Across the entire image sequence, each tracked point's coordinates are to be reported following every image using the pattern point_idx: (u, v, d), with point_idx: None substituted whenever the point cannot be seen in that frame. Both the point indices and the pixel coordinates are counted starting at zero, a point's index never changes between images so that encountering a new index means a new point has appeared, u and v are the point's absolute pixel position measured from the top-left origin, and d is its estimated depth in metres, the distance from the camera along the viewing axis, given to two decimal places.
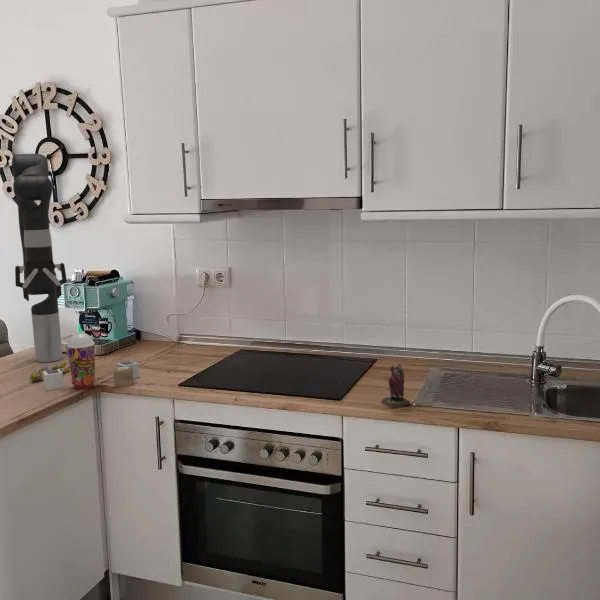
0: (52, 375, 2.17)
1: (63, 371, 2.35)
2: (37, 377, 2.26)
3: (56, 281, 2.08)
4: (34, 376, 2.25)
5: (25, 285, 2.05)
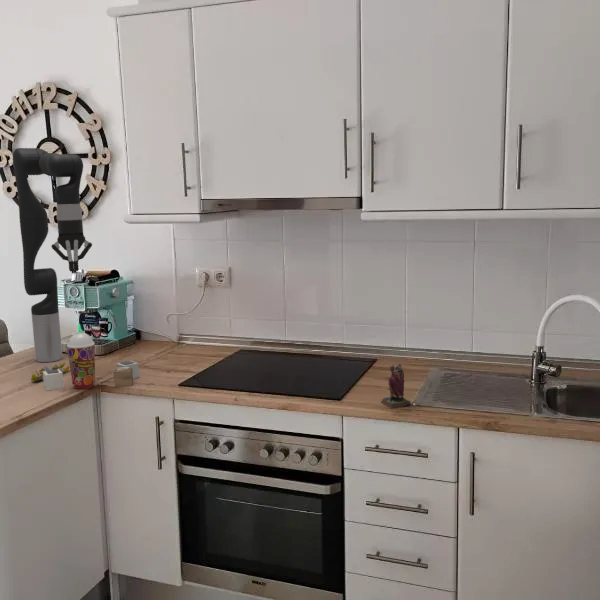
0: (52, 375, 2.17)
1: (63, 371, 2.36)
2: (39, 377, 2.26)
3: (76, 256, 2.22)
4: (36, 376, 2.25)
5: (70, 258, 2.22)
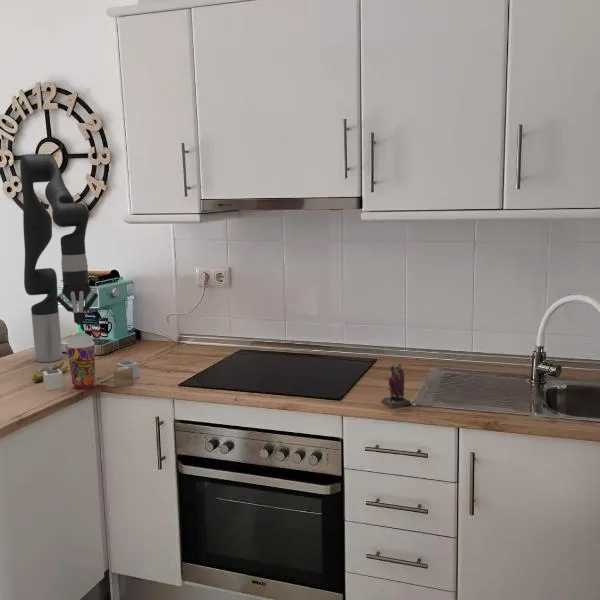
0: (52, 375, 2.17)
1: (62, 371, 2.36)
2: (40, 377, 2.26)
3: (81, 307, 2.15)
4: (38, 376, 2.25)
5: (75, 310, 2.15)
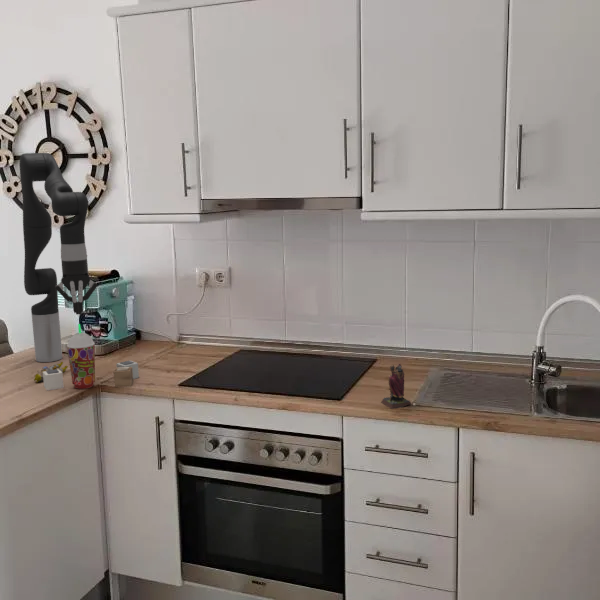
0: (52, 375, 2.17)
1: (61, 371, 2.36)
2: (42, 377, 2.26)
3: (80, 297, 2.14)
4: (40, 376, 2.25)
5: (74, 299, 2.14)
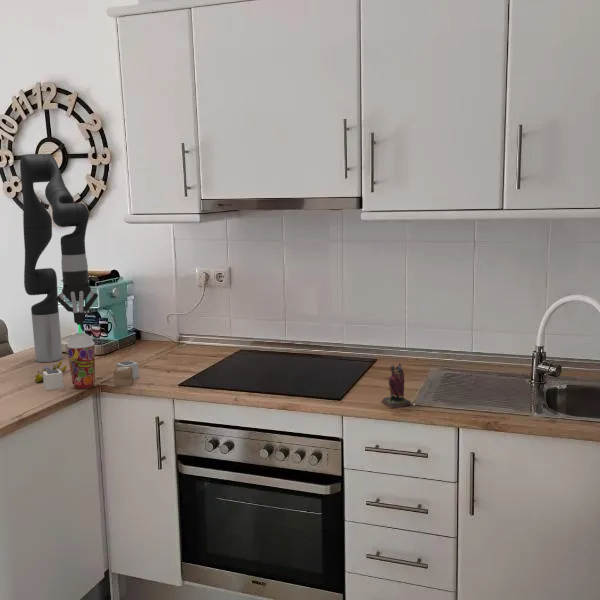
0: (52, 375, 2.17)
1: (61, 371, 2.36)
2: None
3: (81, 307, 2.15)
4: (41, 376, 2.25)
5: (75, 310, 2.15)
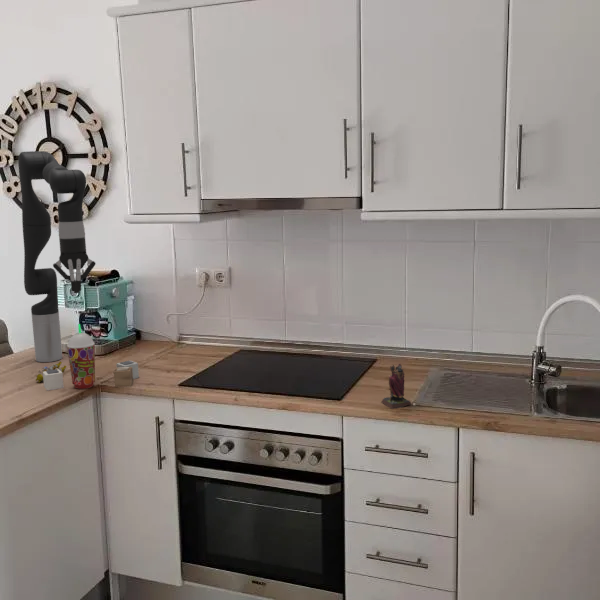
0: (52, 375, 2.17)
1: (61, 370, 2.36)
2: None
3: (78, 275, 2.13)
4: (42, 376, 2.25)
5: (72, 278, 2.13)
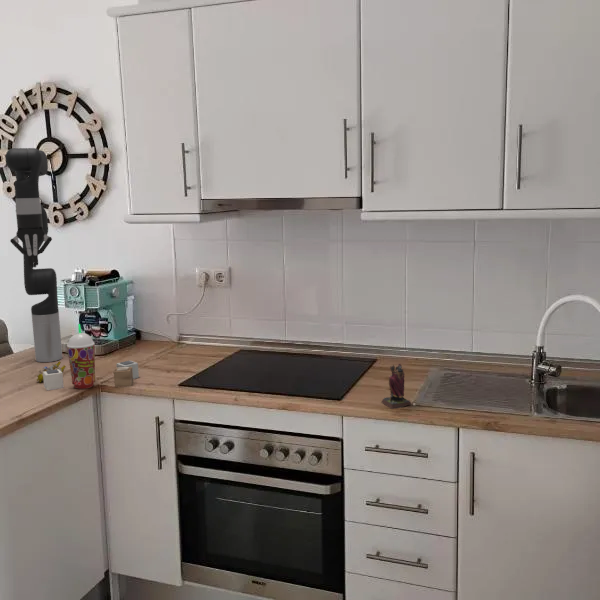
0: (52, 375, 2.17)
1: (60, 370, 2.37)
2: None
3: (35, 250, 2.22)
4: None
5: (29, 252, 2.22)
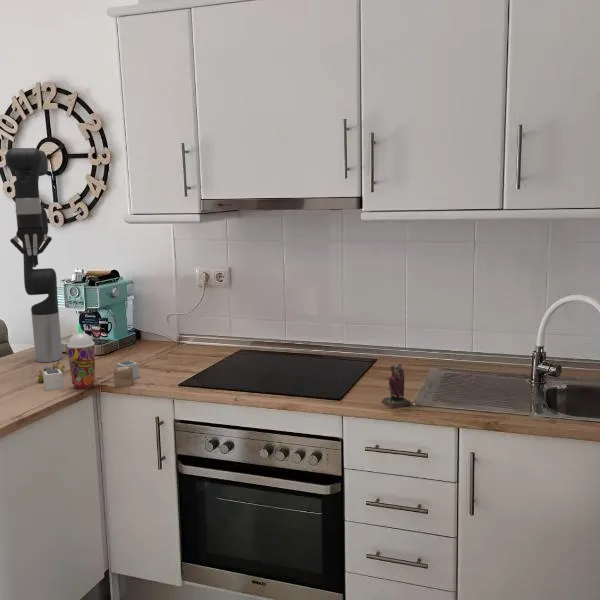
0: (52, 375, 2.17)
1: (60, 370, 2.37)
2: None
3: (35, 250, 2.22)
4: None
5: (29, 252, 2.22)
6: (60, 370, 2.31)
